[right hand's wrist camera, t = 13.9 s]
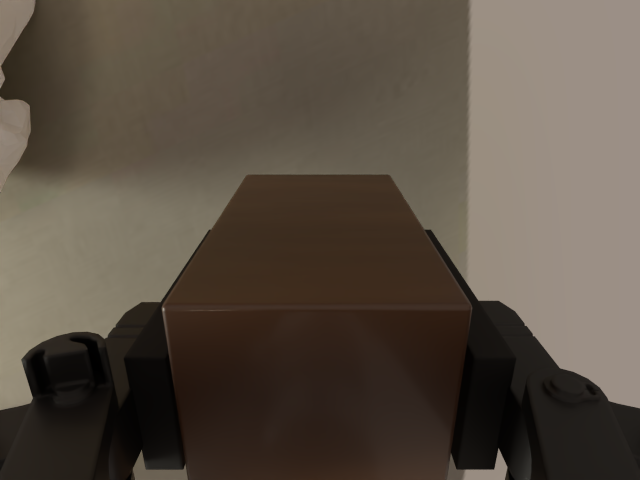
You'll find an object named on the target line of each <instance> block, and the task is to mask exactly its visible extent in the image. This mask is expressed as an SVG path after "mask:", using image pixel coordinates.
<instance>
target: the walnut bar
mask: <svg viewBox="0 0 640 480" xmlns="http://www.w3.org/2000/svg"><path fill="white" fill-rule="evenodd" d="M162 313H163V320H164V326H165V333H166V339H167V346H168V352H169V359H170V365H171V372H172V378H173V385H174V391H175V398H176V404H177V411H178V417H179V424H180V430H181V437H182V443H183V450H184V456H185V463H186V469H187V476H188V480H447V474H448V468H449V461H450V454H451V448H452V441H453V434H454V427H455V421H456V414H457V407H458V401H459V394H460V387H461V381H462V374H463V367H464V361H465V354H466V347H467V340H468V334H469V327H470V320H471V314H472V305H471V303H470V302H469V300H468V298H467V297H466V295H465V294H464V292H463V290H462V289H461V287H460V286H459V284H458V283H457V281H456V279H455V278H454V276H453V275H452V273H451V271H450V270H449V268H448V267H447V265H446V264H445V262H444V260H443V259H442V257H441V256H440V254H439V252H438V251H437V249H436V248H435V246H434V245H433V243H432V241H431V240H430V238H429V237H428V235H427V233H426V232H425V230H424V229H423V227H422V225H421V224H420V222H419V221H418V219H417V218H416V216H415V214H414V213H413V211H412V210H411V208H410V206H409V205H408V203H407V202H406V200H405V199H404V197H403V195H402V194H401V192H400V191H399V189H398V187H397V186H396V184H395V183H394V181H393V180H392V178H391V176H390V175H247V176H246V177H245V179H244V180H243V182H242V183H241V185H240V186H239V188H238V189H237V191H236V192H235V194H234V196H233V197H232V199H231V200H230V202H229V203H228V205H227V206H226V208H225V209H224V211H223V212H222V214H221V216H220V217H219V219H218V220H217V222H216V223H215V225H214V226H213V228H212V229H211V231H210V232H209V234H208V236H207V237H206V239H205V240H204V242H203V243H202V245H201V246H200V248H199V249H198V251H197V252H196V254H195V256H194V257H193V259H192V260H191V262H190V263H189V265H188V266H187V268H186V269H185V271H184V273H183V274H182V276H181V277H180V279H179V280H178V282H177V283H176V285H175V286H174V288H173V289H172V291H171V293H170V294H169V296H168V297H167V299H166V300H165V302H164V303H163V306H162Z"/></svg>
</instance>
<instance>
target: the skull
mask: <svg viewBox="0 0 640 480" xmlns="http://www.w3.org/2000/svg"><path fill="white" fill-rule="evenodd" d="M34 8H35V0H0V88H1V86H2V84H3V82H4V80H5V77H4V74H3V71H2V68H1V65H2V63H3V62H4V60H5V58H6V57H7V55H8V54H9V52H10V50H11V49H12V47H13V46H14V44H15V42H16V41H17V39H18V37H19V36H20V34H21V32H22V31H23V29H24V27H25V26H26V25H27V24H28V22H29V20H30V18H31V16H32V14H33V12H34ZM30 133H31V123H30V105H28V104H27V103H26V102H24V101H22V100H18V99H16V100H4V99H3V98H1V97H0V192H1V191H2V189H3V186H4V184H5V182H6V179H7V177H8V175H9V174H10V173H11V171H12V170H13V168H14V167H15V166H16V164H17V163H18V162H19V160H20V158H21V156H22V155H23V153H24V151H25V149H26V147H27V144H28V137H29V135H30Z"/></svg>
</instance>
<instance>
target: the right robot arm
mask: <svg viewBox="0 0 640 480" xmlns="http://www.w3.org/2000/svg"><path fill="white" fill-rule="evenodd" d="M210 231H211V230H209V231H208V232H207V234H206V235H205V237H204V238H203V240H202V241H201V243H200V244H199V246H198V247H197V249H196V250H195V252H194V253H193V255H192V256H191V258H190V259H189V261H188V262H187V264H186V265H185V267H184V268H183V270H182V271H181V273H180V274H179V276H178V277H177V279H176V280H175V282H174V283H173V285H172V286H171V288H170V289H169V291H168V292H167V294H166V295H165V297H164V298H163V300H162V301H161V302H141V303H140V304H138V305H137V306H135V307H134V308H132V309H131V310H129V311H127V312H126V313H125V314H124V315H123V317H122V318H121V319H120V320H119V322H118V323H117V324H116V328H113V329H112V331H111V332H110V333H109V334H108V338H105V339H104V338H102V337H101V336H100V335H99V334H95V333H90V332H73V333H68V334H64V335H60V336H56V337H54V338H51V339H49V340H46V341H44V342H42V343H40V344H39V345H37V346H36V347H34V348H32V349H31V350H29V351H28V353H27V354H26V355H25V356H24V357H23V358H22V359H21V360H22V364H23V367H24V370H25V373H26V377H27V380H28V383H29V386H30V390H31V393H32V396H33V399H32V402H31V403H30V404H27V405H23V406H19V407H14V408H9V409H5V410H0V480H135V477H134V473H133V467H134V465H135V463H136V460H137V458H138V456H139V454H140V452H141V450H142V453H143V458H144V463H145V468H146V469H184V466H185V456H184V450H183V443H182V437H181V430H180V424H179V417H178V411H177V404H176V398H175V391H174V385H173V378H172V372H171V365H170V359H169V352H168V346H167V339H166V333H165V326H164V320H163V313H162V306H163V303H164V302H165V300H166V299H167V297H168V296H169V294H170V293H171V291H172V289H173V288H174V286H175V285H176V283H177V282H178V280H179V279H180V277H181V276H182V274H183V273H184V271H185V269H186V268H187V266H188V265H189V263H190V262H191V260H192V259H193V257H194V256H195V254H196V252H197V251H198V249H199V248H200V246H201V245H202V243H203V242H204V240H205V239H206V237H207V236H208V234H209V232H210ZM425 232H426V233H427V235H428V237H429V238H430V240H431V241H432V243H433V245H434V246H435V248H436V249H437V251H438V252H439V254H440V256H441V257H442V259H443V260H444V262H445V264H446V265H447V267H448V268H449V270H450V271H451V273H452V275H453V276H454V278H455V279H456V281H457V283H458V284H459V286H460V287H461V289H462V290H463V292H464V294H465V295H466V297H467V298H468V300H469V302H470V303H471V305H472V314H471V320H470V327H469V334H468V340H467V347H466V354H465V361H464V367H463V374H462V381H461V387H460V394H459V401H458V407H457V414H456V421H455V427H454V434H453V441H452V448H451V454H452V457H453V460H454V463H455V466H456V469H494V468H495V463H496V458H497V453H498V448H499V450H500V452H501V454H502V456H503V458H504V460H505V462H506V465H507V467H508V468H507V473H506V477H505V480H640V408H635V407H631V406H626V405H621V404H617V403H613V402H610V401H608V399H607V397H606V396H605V394H604V393H603V392H602V390H601V389H600V388H599V387H598V386H597V385H595V384H594V383H593V382H591V381H590V380H589V379H587V378H585V377H583V376H581V375H579V374H577V373H574V372H571V371H567V370H564V369H560V368H559V367H558V365H557V364H556V363H555V362H554V360H553V359H552V358H551V357H550V355H549V354H548V353H547V351H546V350H545V349H544V348H543V346H542V345H541V344H540V343H539V341H538V340H537V339H536V338H535V337H534V336H533V334H532V332H531V331H530V330H529V329H528V327H527V326H525V325H524V322H523V321H522V320H521V318H520V317H519V316H518V315H517V313H516V312H515V311H514V310H512V309H510V308H509V307H507V306H506V305H504V304H503V303H501V302H500V301H478V300H477V298H476V297H475V295H474V294H473V292H472V291H471V289H470V288H469V286H468V285H467V283H466V282H465V280H464V279H463V277H462V276H461V274H460V273H459V271H458V270H457V268H456V267H455V265H454V264H453V262H452V261H451V259H450V258H449V256H448V255H447V253H446V252H445V250H444V249H443V247H442V246H441V244H440V243H439V241H438V240H437V238H436V237H435V235H434V234H433V232H432V231H431V230H425Z"/></svg>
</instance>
